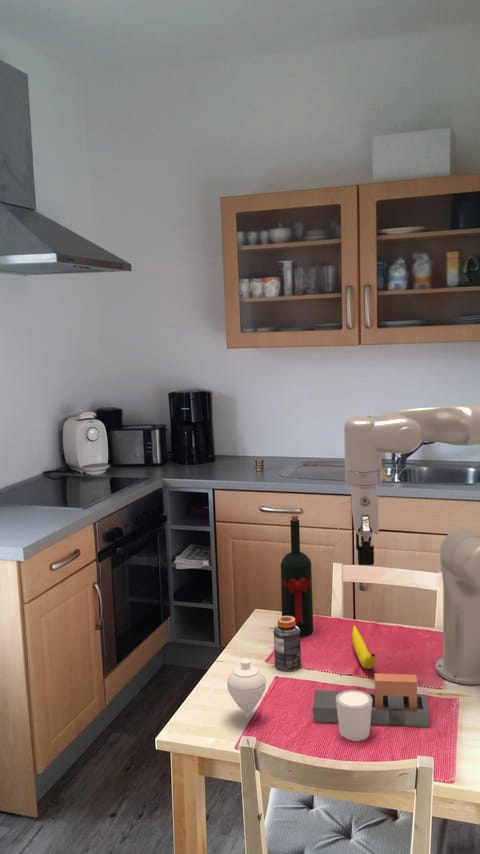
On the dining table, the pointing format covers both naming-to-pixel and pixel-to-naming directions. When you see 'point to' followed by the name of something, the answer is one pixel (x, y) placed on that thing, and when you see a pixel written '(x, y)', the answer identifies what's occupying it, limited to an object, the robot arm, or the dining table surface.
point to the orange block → (396, 688)
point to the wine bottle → (297, 583)
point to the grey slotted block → (375, 710)
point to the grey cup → (354, 714)
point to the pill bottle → (287, 644)
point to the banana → (362, 650)
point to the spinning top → (246, 686)
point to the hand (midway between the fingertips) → (364, 557)
